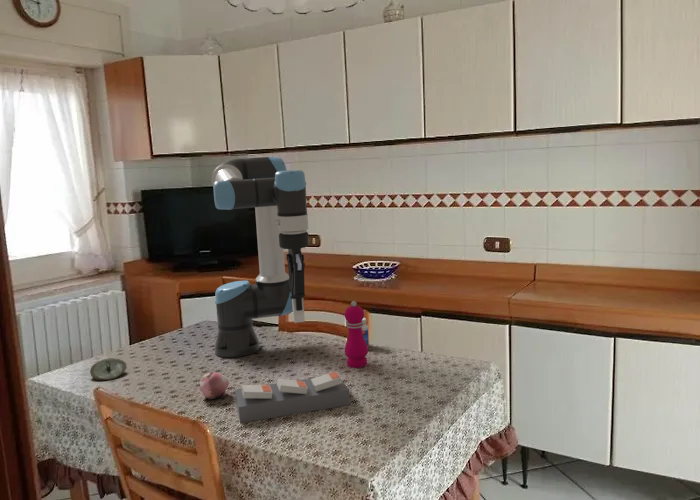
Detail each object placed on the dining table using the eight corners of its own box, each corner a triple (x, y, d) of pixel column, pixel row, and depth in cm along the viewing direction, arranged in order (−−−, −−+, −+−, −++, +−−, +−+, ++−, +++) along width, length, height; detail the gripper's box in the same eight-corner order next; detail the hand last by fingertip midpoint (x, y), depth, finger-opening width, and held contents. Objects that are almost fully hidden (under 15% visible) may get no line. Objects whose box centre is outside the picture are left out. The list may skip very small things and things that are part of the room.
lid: (126, 367, 189) (125, 352, 188) (127, 377, 180) (125, 361, 179) (91, 373, 185) (89, 358, 184) (90, 383, 176) (88, 367, 175)
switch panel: (236, 404, 155) (234, 388, 154) (338, 388, 162) (337, 373, 161) (239, 422, 143) (238, 406, 143) (350, 404, 150) (349, 389, 150)
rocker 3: (312, 384, 154) (310, 378, 153) (337, 376, 155) (335, 370, 155) (316, 391, 149) (314, 385, 149) (342, 383, 151) (340, 376, 150)
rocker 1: (241, 390, 149) (242, 384, 149) (269, 391, 151) (269, 384, 151) (243, 398, 144) (244, 391, 144) (271, 398, 146) (272, 391, 146)
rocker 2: (276, 384, 151) (278, 377, 151) (302, 387, 153) (304, 380, 153) (279, 391, 146) (281, 384, 146) (306, 394, 148) (307, 387, 148)
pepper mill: (355, 359, 185) (351, 297, 182) (373, 363, 181) (370, 299, 178) (340, 365, 180) (336, 302, 177) (358, 370, 175) (355, 305, 172)
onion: (197, 402, 160) (192, 376, 161) (221, 396, 165) (217, 370, 166) (211, 400, 154) (207, 372, 155) (236, 393, 160) (232, 367, 161)
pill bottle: (360, 350, 193) (358, 322, 192) (349, 347, 197) (348, 319, 196) (372, 346, 197) (371, 318, 195) (362, 343, 201) (360, 315, 199)
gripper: (275, 229, 153) (281, 316, 158) (282, 236, 141) (288, 330, 145) (303, 227, 155) (308, 313, 159) (313, 233, 143) (318, 326, 147)
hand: (299, 321), depth 152 cm, fingers closed
